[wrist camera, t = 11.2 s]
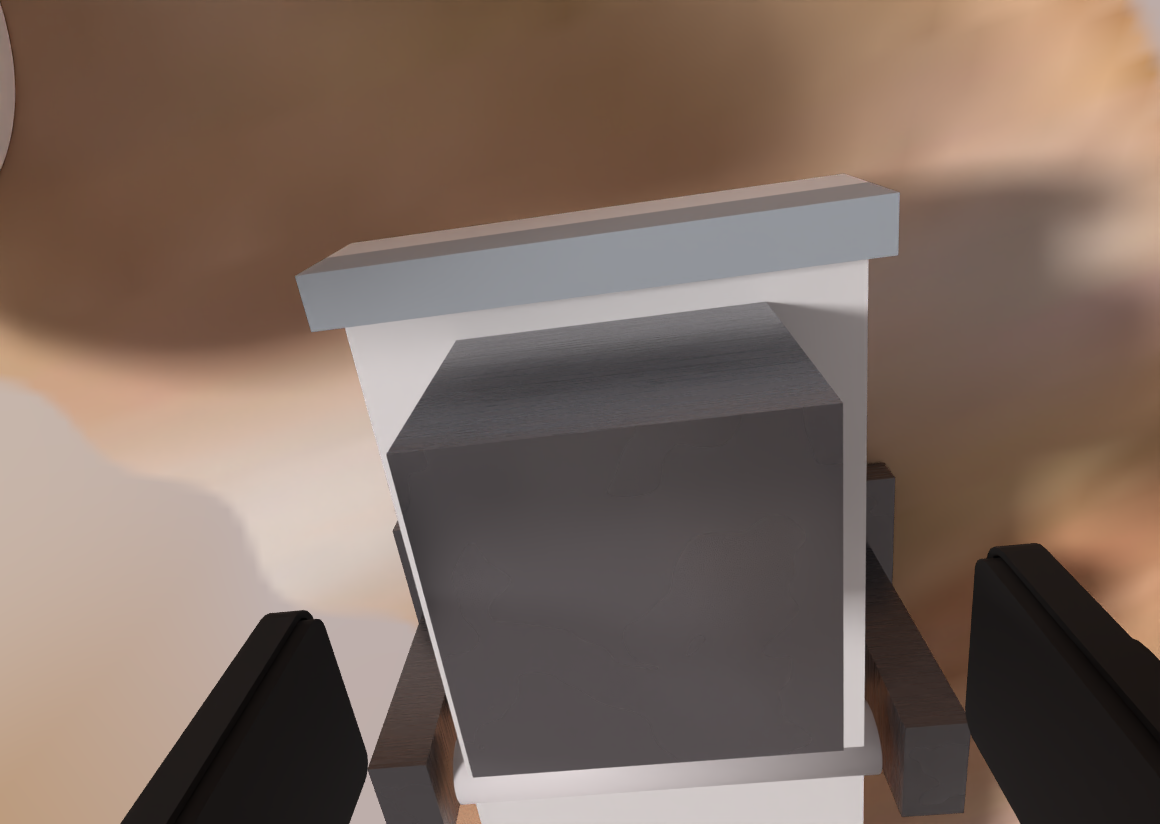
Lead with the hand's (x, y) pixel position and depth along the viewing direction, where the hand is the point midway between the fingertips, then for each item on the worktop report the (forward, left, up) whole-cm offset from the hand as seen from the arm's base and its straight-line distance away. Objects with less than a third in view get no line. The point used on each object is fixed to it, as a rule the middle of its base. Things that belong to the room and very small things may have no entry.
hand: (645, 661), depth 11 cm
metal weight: (0, -1, -5) cm, 5 cm away
